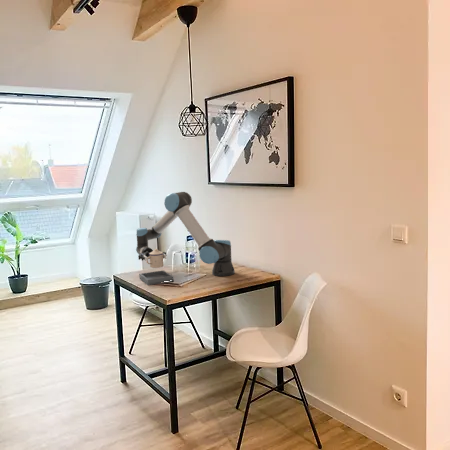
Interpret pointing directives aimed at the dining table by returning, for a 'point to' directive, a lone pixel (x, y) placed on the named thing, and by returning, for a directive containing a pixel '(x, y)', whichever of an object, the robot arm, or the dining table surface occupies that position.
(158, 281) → the grey tray
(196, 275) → the dining table surface
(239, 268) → the dining table surface
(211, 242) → the robot arm
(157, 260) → the teacup with lid
